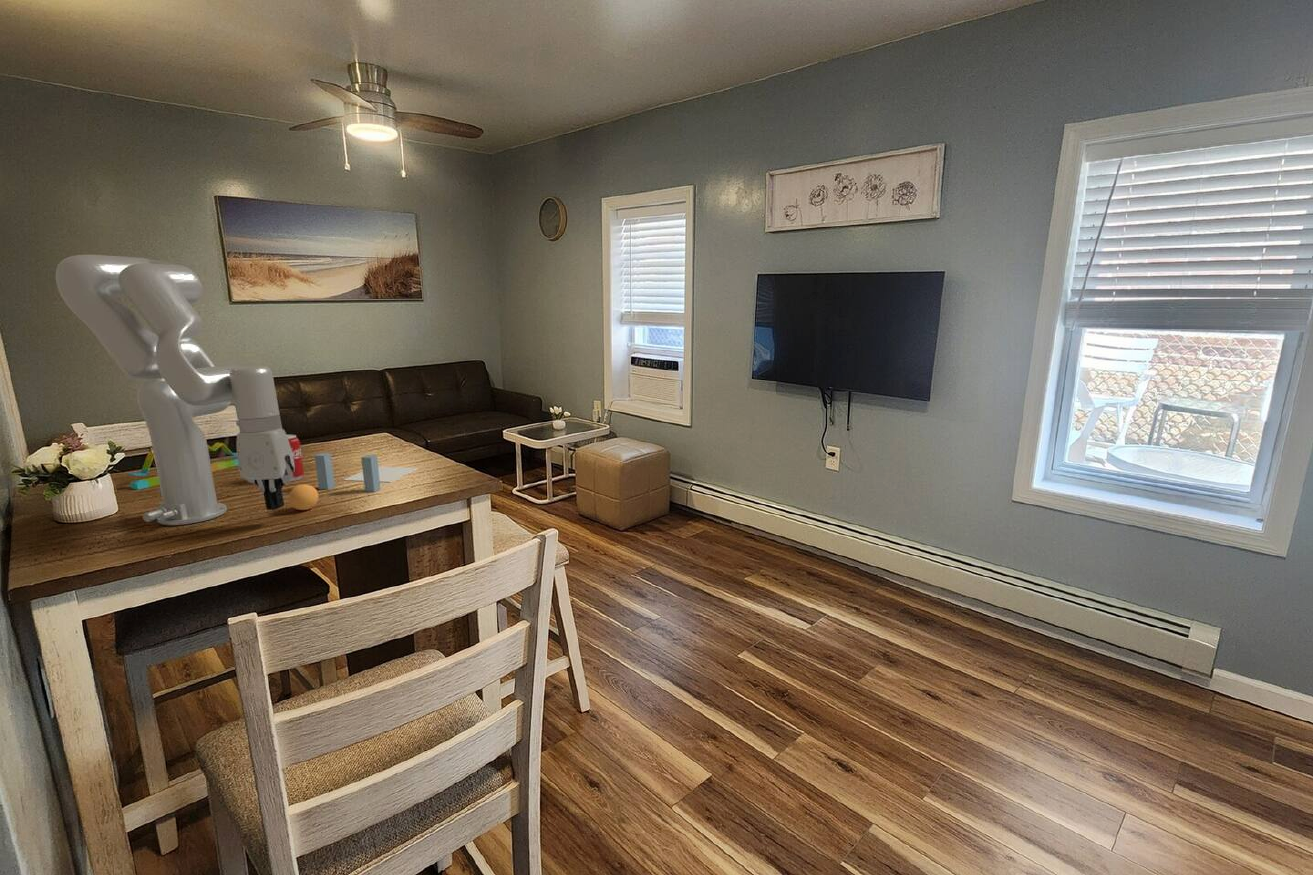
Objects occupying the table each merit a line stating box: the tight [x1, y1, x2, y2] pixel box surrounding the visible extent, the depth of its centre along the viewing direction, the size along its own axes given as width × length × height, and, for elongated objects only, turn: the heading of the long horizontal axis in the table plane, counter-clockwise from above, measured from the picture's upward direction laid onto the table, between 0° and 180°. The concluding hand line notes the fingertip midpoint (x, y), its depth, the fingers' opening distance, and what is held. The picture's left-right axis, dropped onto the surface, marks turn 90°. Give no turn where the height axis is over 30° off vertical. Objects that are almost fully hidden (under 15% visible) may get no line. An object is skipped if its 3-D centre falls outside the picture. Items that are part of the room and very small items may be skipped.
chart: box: [128, 442, 238, 490], centre depth 171 cm, size 30×3×15 cm, turn 158°
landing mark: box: [343, 465, 419, 483], centre depth 171 cm, size 14×14×1 cm
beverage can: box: [286, 434, 305, 482], centre depth 165 cm, size 6×6×12 cm
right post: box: [360, 454, 381, 493], centre depth 155 cm, size 3×3×9 cm
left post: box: [314, 452, 336, 491], centre depth 158 cm, size 3×3×9 cm
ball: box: [288, 483, 319, 511], centre depth 141 cm, size 6×6×6 cm
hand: (275, 507), depth 132 cm, fingers closed
